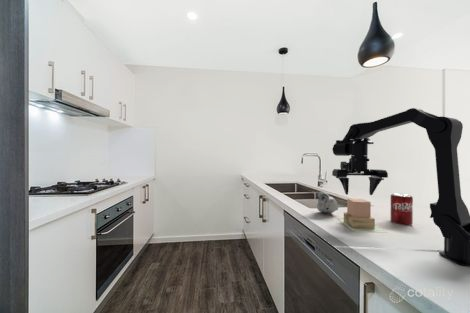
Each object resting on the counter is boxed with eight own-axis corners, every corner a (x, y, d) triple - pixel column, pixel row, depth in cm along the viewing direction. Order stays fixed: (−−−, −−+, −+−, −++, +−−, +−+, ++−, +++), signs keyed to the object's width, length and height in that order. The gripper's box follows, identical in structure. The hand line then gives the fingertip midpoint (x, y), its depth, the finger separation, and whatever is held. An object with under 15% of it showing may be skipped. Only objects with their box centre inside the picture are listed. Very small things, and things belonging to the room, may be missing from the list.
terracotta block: (370, 217, 79) (370, 202, 79) (354, 217, 80) (354, 201, 80) (362, 213, 85) (362, 198, 85) (347, 212, 86) (347, 198, 86)
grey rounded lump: (343, 218, 92) (341, 191, 94) (321, 218, 93) (320, 191, 95) (333, 216, 102) (332, 191, 104) (314, 215, 103) (313, 191, 105)
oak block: (374, 229, 78) (374, 218, 78) (352, 228, 79) (352, 218, 79) (363, 222, 86) (363, 212, 86) (343, 221, 87) (343, 212, 87)
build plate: (388, 234, 75) (388, 232, 75) (353, 232, 76) (353, 231, 76) (364, 220, 91) (364, 218, 91) (336, 219, 92) (336, 218, 92)
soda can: (416, 227, 82) (417, 197, 82) (396, 225, 84) (396, 196, 84) (405, 221, 90) (406, 193, 90) (387, 220, 91) (387, 193, 91)
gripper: (372, 155, 90) (372, 191, 90) (327, 155, 91) (327, 190, 92) (388, 156, 79) (388, 196, 79) (337, 155, 80) (337, 195, 80)
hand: (358, 194), depth 83 cm, fingers open, 9 cm apart
